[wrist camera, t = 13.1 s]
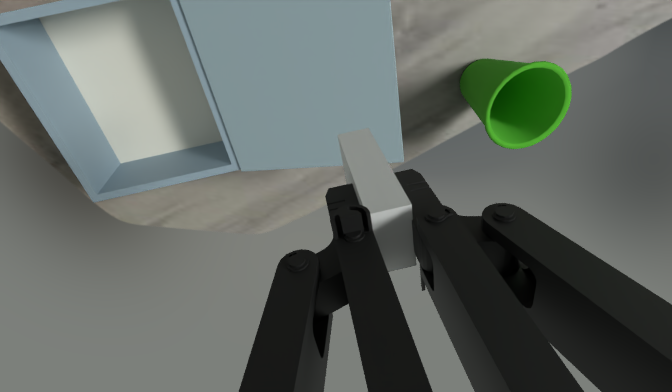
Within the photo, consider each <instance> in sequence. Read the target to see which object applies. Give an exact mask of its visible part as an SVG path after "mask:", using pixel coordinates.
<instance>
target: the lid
mask: <svg viewBox="0 0 672 392" xmlns="http://www.w3.org/2000/svg"><path fill="white" fill-rule="evenodd" d="M179 1H180V4H181V6H182V9H183V12H184V15H185V17H186V20H187V23H188V26H189V28H190V31H191V34H192V37H193V39H194V42H195V45H196V48H197V50H198V53H199V56H200V59H201V61H202V64H203V67H204V70H205V72H206V75H207V78H208V80H209V83H210V86H211V89H212V91H213V94H214V97H215V100H216V102H217V105H218V108H219V111H220V113H221V116H222V119H223V122H224V124H225V127H226V130H227V133H228V135H229V138H230V141H231V144H232V146H233V149H234V152H235V155H236V157H237V160H238V163H239V166H240V168H241V171H257V170H274V169H292V168H309V167H326V166H343V162H342V157H341V151H340V146H339V141H338V134H343V133H347V132H352V131H356V130H361V129H365V128H369V130H370V131H371V133H372V135H373V137H374V138H375V140H376V142H377V144H378V146H379V147H380V149H381V151H382V153H383V154H384V156H385V158H386V160H387V162H388V163H396V162H404V155H403V143H402V132H401V120H400V108H399V97H398V85H397V73H396V62H395V50H394V38H393V26H392V15H391V3H390V0H179Z"/></svg>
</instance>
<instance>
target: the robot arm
mask: <svg viewBox="0 0 672 392" xmlns="http://www.w3.org/2000/svg"><path fill="white" fill-rule="evenodd" d="M338 141H339V146H340V151H341V157H342V162H343V167H344V173H345V178H346V183H347V185H342V186H338V187H333V188H329V189H328V192H327V194H326V196H325V197H326V202H327V206H328V210H329V215H330V222H331V226H332V231H333V240H332V242H331V243H330V245H329V246H328V247H326V248H325V249H324V250H322V251H320V252H318V253H316V254H315V253H314V252H312V251H309V250H302V249H301V250H296V251H293V252H291V253H289V254H286V255H285V256H284V257H283V258H282V259H281V260H280V262H279V264H278V266H277V269H276V273H275V276H274V279H273V283H272V286H271V289H270V292H269V295H268V299H267V302H266V305H265V308H264V312H263V315H262V318H261V321H260V325H259V328H258V331H257V334H256V337H255V341H254V344H253V347H252V351H251V354H250V357H249V360H248V364H247V367H246V370H245V373H244V376H243V380H242V383H241V386H240V389H239V392H324V384H325V376H326V368H327V360H328V351H329V343H330V335H331V326H332V318H333V314H332V313H333V312H334V311H336V310H338V309H340V308H342V307H343V306H345V305H347V304H349V307H350V311H351V316H352V320H353V325H354V329H355V334H356V338H357V343H358V347H359V352H360V356H361V361H362V366H363V370H364V374H365V379H366V384H367V388H368V392H432V389H431V386H430V384H429V381H428V378H427V375H426V373H425V370H424V367H423V365H422V362H421V359H420V357H419V354H418V351H417V348H416V346H415V343H414V340H413V338H412V335H411V332H410V330H409V327H408V324H407V322H406V319H405V316H404V313H403V311H402V308H401V305H400V303H399V300H398V297H397V294H396V292H395V289H394V286H393V284H392V281H391V278H390V275H389V273H388V272H390V271H394V270H398V269H403V268H407V267H411V266H415V265H416V257H417V259H418V261H419V263H420V273H421V286H422V291H423V290H425V285H426V287H427V289H428V292H429V294H430V296H431V298H432V300H433V302H434V304H435V306H436V309H437V311H438V313H439V315H440V318H441V320H442V322H443V324H444V326H445V328H446V330H447V333H448V335H449V337H450V339H451V341H452V343H453V345H454V348H455V350H456V352H457V354H458V356H459V359H460V361H461V363H462V365H463V367H464V369H465V371H466V374H467V376H468V378H469V380H470V382H471V385H472V387H473V389H474V391H475V392H584V391H583V390H582V388H581V387H580V385H579V384H578V383H577V381H576V380H575V378H574V377H573V376H572V374H571V373H570V371H569V370H568V369H567V368H566V366H565V364H564V363H563V362H562V360H561V359H560V357H559V356H558V355H557V353H556V352H555V350H554V349H553V348H552V346H551V345H550V343H551V344H552V345H553V346H554V347H555V348H556V349H557V350H558V351H559V352H560V353H561V354H562V355H563V356H564V357H565V358H566V359H567V360H568V361H570V362H571V363H572V364H573V365H574V366H575V367H576V368H577V369H578V370H579V371H580V372H581V373H582V374H584V376H585V377H586V378H588V379H589V380H590V381H591V382H592V383H593V384H594V385H595V386H596V387H597V388H598V389H599V390H600V391H601V392H672V305H671V304H670V303H668V302H667V301H665V300H664V299H662V298H660V297H659V296H657V295H656V294H654V293H653V292H651V291H650V290H648V289H646V288H645V287H643V286H642V285H640V284H639V283H637V282H635V281H634V280H632V279H631V278H629V277H628V276H626V275H625V274H623V273H621V272H620V271H618V270H617V269H615V268H614V267H612V266H610V265H609V264H607V263H606V262H604V261H603V260H601V259H599V258H598V257H596V256H595V255H593V254H592V253H590V252H588V251H587V250H585V249H584V248H582V247H581V246H579V245H578V244H576V243H574V242H573V241H571V240H570V239H568V238H567V237H565V236H564V235H562V234H560V233H559V232H557V231H556V230H554V229H552V228H551V227H549V226H548V225H546V224H545V223H543V222H542V221H540V220H538V219H537V218H535V217H534V216H532V215H530V214H528V212H526V211H524V210H523V209H521V208H519V207H517V206H515V205H512V204H506V203H498V204H497V203H496V204H493V205H489V206H488V207H486V208H485V209H484V211H483V212H482V216H459V215H457V214H456V212H455V211H454V210H453V209H451V208H449V207H447V206H443V205H442V204H441V203H440V201H439V200H438V198H437V197H436V195H435V194H434V193H433V191H432V189H431V188H429V185H428V184H427V182H426V181H425V179H424V178H423V176H422V175H421V174H420V173H418V172H416V171H415V170H413V169H409V170H405V171H401V172H396V173H394V172H393V170H392V169H391V167H390V165H389V163H388V162H387V160H386V158H385V156H384V154H383V153H382V151H381V149H380V147H379V146H378V144H377V142H376V140H375V138H374V137H373V135H372V133H371V131H370V130H369V128H365V129H361V130H356V131H352V132H347V133H343V134H338Z"/></svg>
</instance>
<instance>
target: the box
mask: <svg viewBox="0 0 672 392" xmlns="http://www.w3.org/2000/svg"><path fill="white" fill-rule="evenodd" d="M0 60H1V62H2V63H3V65H4V66H5V68H6V69H7V71H8V72H9V74H10V75H11V77H12V79H13V80H14V82H15V83H16V85H17V86H18V88H19V89H20V91H21V92H22V94H23V95H24V97H25V98H26V100H27V102H28V103H29V105H30V106H31V108H32V109H33V111H34V112H35V114H36V115H37V117H38V118H39V120H40V121H41V123H42V124H43V126H44V128H45V129H46V131H47V132H48V134H49V135H50V137H51V138H52V140H53V141H54V143H55V144H56V146H57V147H58V149H59V151H60V152H61V154H62V155H63V157H64V158H65V160H66V161H67V163H68V164H69V166H70V167H71V169H72V170H73V172H74V174H75V175H76V177H77V178H78V180H79V181H80V183H81V184H82V186H83V187H84V189H85V190H86V192H87V193H88V195H89V197H90V198H91V200H92V201H93V203H94V202H98V201H103V200H107V199H111V198H116V197H120V196H125V195H129V194H134V193H138V192H143V191H147V190H152V189H156V188H160V187H165V186H169V185H174V184H178V183H183V182H187V181H192V180H196V179H200V178H205V177H209V176H214V175H218V174H223V173H227V172H232V171H236V170H241V168H240V166H239V163H238V160H237V157H236V155H235V152H234V149H233V146H232V144H231V141H230V138H229V135H228V133H227V130H226V127H225V124H224V122H223V119H222V116H221V113H220V111H219V108H218V105H217V102H216V100H215V97H214V94H213V91H212V89H211V86H210V83H209V80H208V78H207V75H206V72H205V70H204V67H203V64H202V61H201V59H200V56H199V53H198V50H197V48H196V45H195V42H194V39H193V37H192V34H191V31H190V28H189V26H188V23H187V20H186V17H185V15H184V12H183V9H182V6H181V4H180V1H179V0H62V1H58V2H53V3H48V4H44V5H39V6H34V7H29V8H25V9H20V10H15V11H10V12H6V13H1V14H0Z"/></svg>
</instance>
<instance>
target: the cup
mask: <svg viewBox="0 0 672 392" xmlns="http://www.w3.org/2000/svg"><path fill="white" fill-rule="evenodd" d="M460 90H461V93H462V95H463V97H464V98H465V99H466V101H467V102H468V103H469V105H470V106H471V107H472V109H473V110H474V112H475V113H476V114H477V116H478V117H479V118H480V120H481V121H482V122H483V124H484V125H485V129H486V132H487V134H488V136H489V137H490V138H491V140H493V142H494V143H496V144H497V145H499V146H501V147H504V148H509V149H517V148H525V147H528V146H532V145H534V144H536V143H538V142H540V141H542V140H543V139H544V138H546V137H547V136H548V135H549V134H551V133H552V132H553V131H554V130H555V129H556V128H557V127H558V126H559V124H560V123H561V121H562V120H563V118H564V117H565V114H566V112H567V110H568V108H569V105H570V100H571V84H570V81H569V78H568V75H567V74H566V73H565V71H564V70H563V69H562V68H561V67H559V66H558V65H556V64H554V63H550V62H546V61H541V62H532V63H522V62H513V61H504V60H495V59H480V60H477V61H475V62H473V63H471V64H470V65H469V66H468V67H467V68H466V69H465V70H464V72H463V74H462V76H461V79H460Z"/></svg>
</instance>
